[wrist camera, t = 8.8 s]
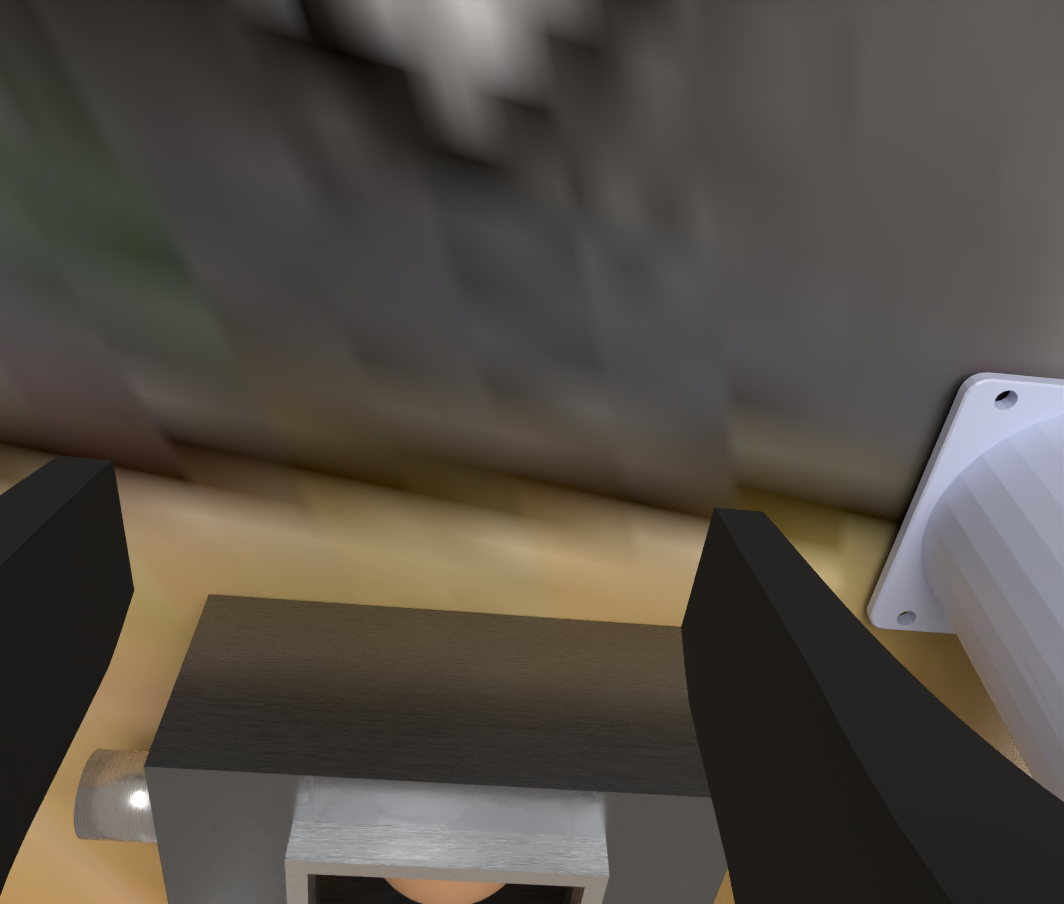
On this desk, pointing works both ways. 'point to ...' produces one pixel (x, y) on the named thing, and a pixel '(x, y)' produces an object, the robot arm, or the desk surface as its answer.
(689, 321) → the desk surface
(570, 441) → the desk surface
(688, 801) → the grey box with opening
